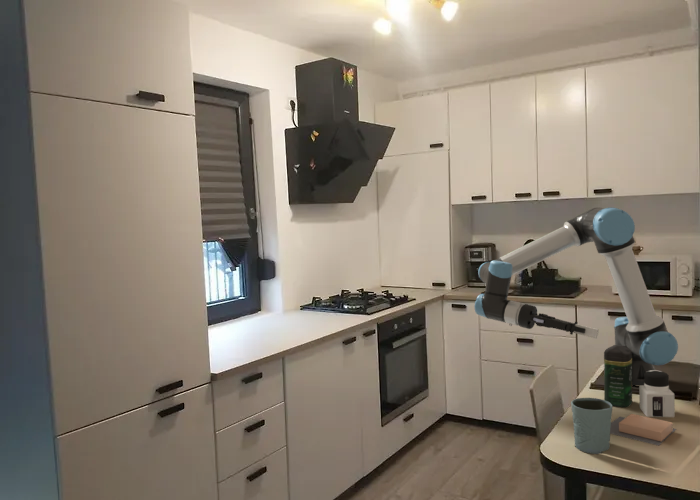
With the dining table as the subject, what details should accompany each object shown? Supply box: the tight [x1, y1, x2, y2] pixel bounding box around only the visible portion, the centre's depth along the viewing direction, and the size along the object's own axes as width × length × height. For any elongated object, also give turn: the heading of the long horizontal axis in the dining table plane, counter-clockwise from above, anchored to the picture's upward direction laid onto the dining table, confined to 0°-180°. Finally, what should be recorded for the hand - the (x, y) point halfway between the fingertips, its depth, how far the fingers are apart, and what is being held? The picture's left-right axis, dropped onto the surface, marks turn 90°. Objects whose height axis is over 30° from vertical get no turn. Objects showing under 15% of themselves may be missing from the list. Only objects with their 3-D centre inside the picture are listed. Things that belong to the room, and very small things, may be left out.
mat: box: [610, 416, 677, 446], centre depth 163 cm, size 14×16×1 cm
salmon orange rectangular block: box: [619, 413, 674, 441], centre depth 162 cm, size 9×3×11 cm
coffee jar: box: [603, 344, 633, 408], centre depth 185 cm, size 10×8×19 cm
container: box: [638, 369, 676, 418], centre depth 175 cm, size 8×8×13 cm
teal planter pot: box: [570, 397, 613, 455], centre depth 155 cm, size 10×10×12 cm
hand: (597, 333), depth 172 cm, fingers closed
